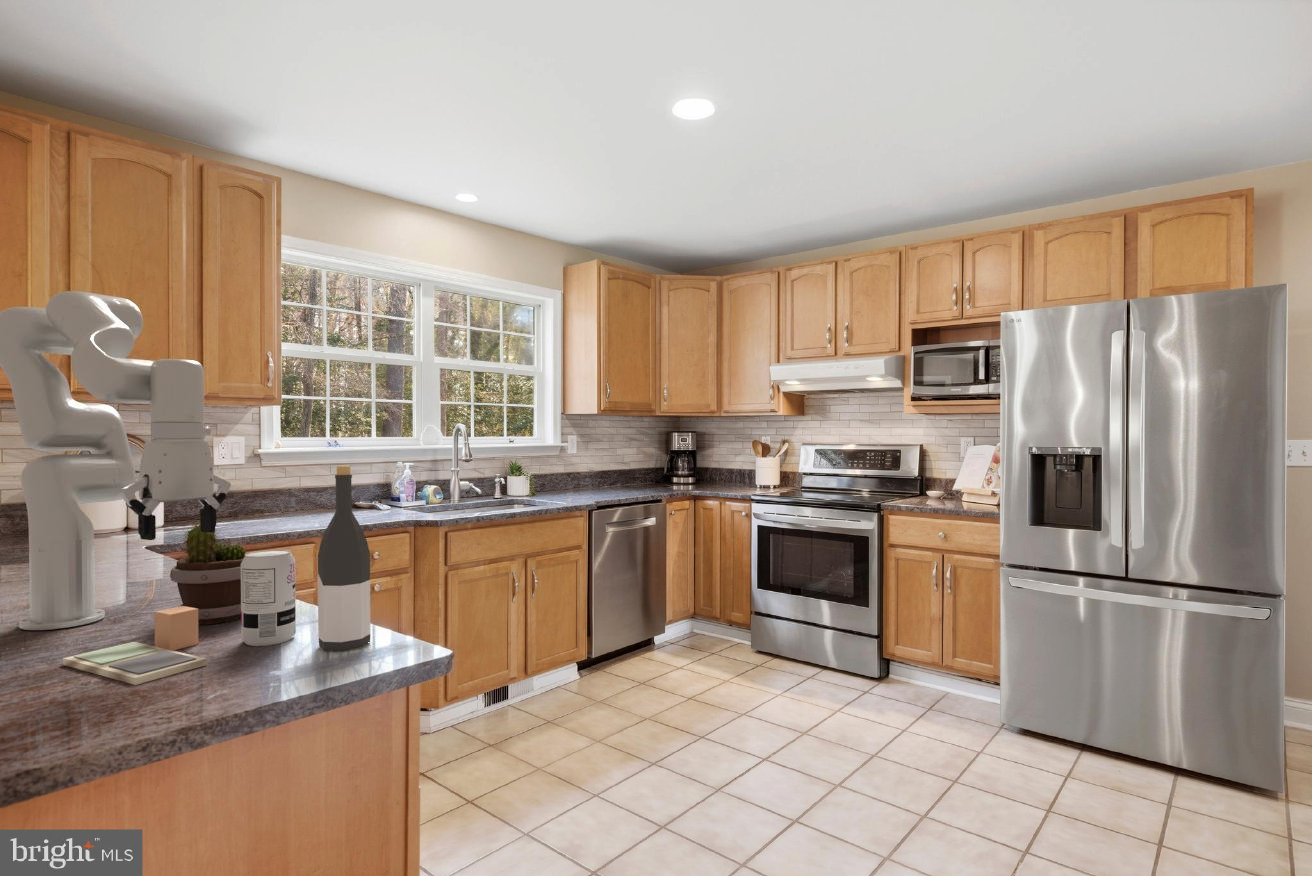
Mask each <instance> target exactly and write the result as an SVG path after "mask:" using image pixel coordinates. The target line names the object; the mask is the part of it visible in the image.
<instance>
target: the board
mask: <svg viewBox="0 0 1312 876" xmlns="http://www.w3.org/2000/svg"><path fill="white" fill-rule="evenodd" d="M207 660H208V659H207V658H206V657H202V656H198V655H197V656H196V655H195V654H194V655H193V654H190V653H189V654H188V653H186V652H181V651H177V650H173V651H172V650H168V649H164V648H159V647H155V645H150V644H145V643H141V642H137V641H131V642H127V643H123V644H119V645H115V646H110V647H105V648H101V649H98V650H97V649H96V650H91V651H88V652H83V653H80V654H76V655H71V656H67V657H63V658H62V665H63V666H66V667H70V668H74V669H77V670H79V671H84V672H88V673H90V674H91V673H92V674H96V675H98V676H101V677H106V678H110V679H113V680H116V681H120V682H123V683H126V684H127V683H128V684H130V685H135V686H137V685H140V684H143V683H147V682H148V683H149V682H150V681H154V680H158V679H161V678H165V677H169V676H172V675H173V676H174V675H175V674H180V673H182V672H187V671H189V670H193V669H197V668H201V667H204V666H207V665H208V664H207V663H208V662H207Z"/></svg>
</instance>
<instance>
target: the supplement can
mask: <svg viewBox="0 0 1312 876" xmlns="http://www.w3.org/2000/svg"><path fill="white" fill-rule="evenodd" d="M246 553H247V554H245V557H244V559H243V561H242V563H241V618H240V621H241V622H240V623H241V625H240V633H241V634H240V635H241V637H240V638H241V641H242V642H244V643H245V645H247V646H250V647H251V646H253V647H267V646H273V645H279V644H282V643H285V642H288V641H290V640H292V637H294V636H295V635H296V633H297V632H296V631H297V623H296V620H297V619H296V618H297V617H296V615H297V614H296V606H297V605H296V559H295V557H294V555H293V554H292V551H291V550H288V549H269V550H268V549H267V550H257V551H251V552H250V551H249V552H246Z"/></svg>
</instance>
